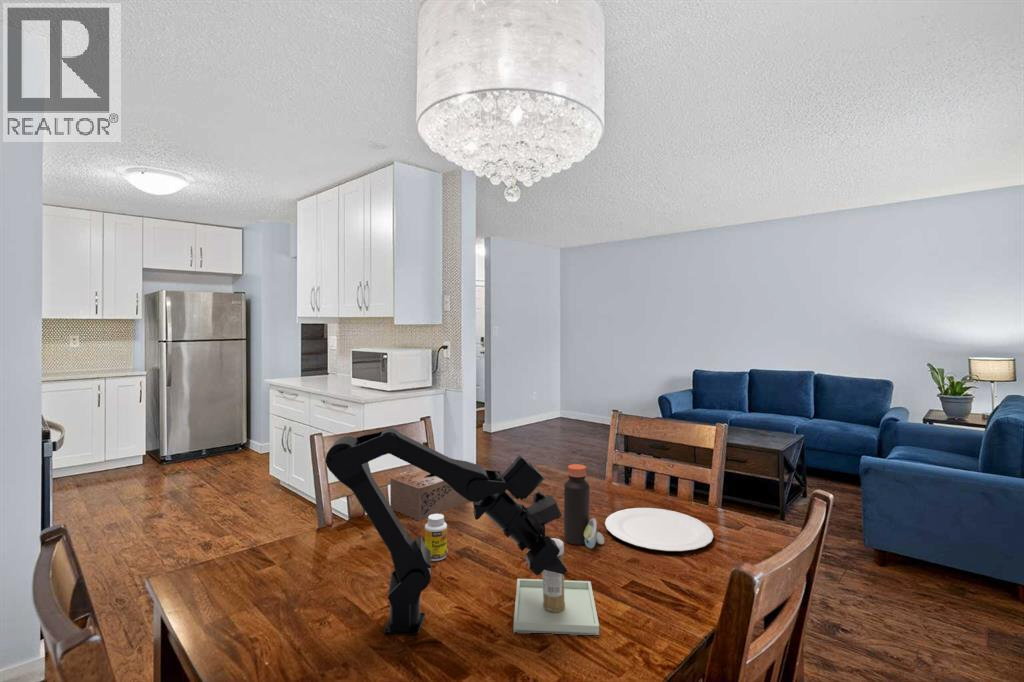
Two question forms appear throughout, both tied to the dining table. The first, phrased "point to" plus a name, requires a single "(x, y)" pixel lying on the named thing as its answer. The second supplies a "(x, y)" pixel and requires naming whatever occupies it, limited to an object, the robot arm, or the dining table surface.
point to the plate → (659, 529)
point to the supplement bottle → (436, 536)
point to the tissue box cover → (422, 495)
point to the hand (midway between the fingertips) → (561, 565)
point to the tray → (570, 620)
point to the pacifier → (592, 534)
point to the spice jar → (554, 585)
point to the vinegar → (576, 505)
